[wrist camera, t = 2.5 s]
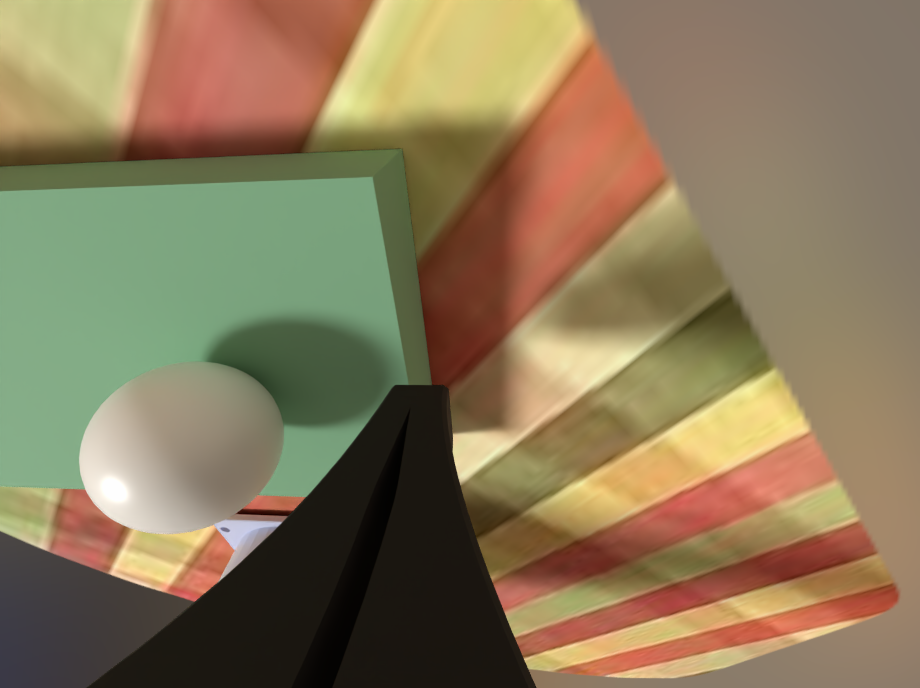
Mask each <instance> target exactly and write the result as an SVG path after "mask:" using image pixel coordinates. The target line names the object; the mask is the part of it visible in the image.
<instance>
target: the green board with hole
mask: <svg viewBox="0 0 920 688" xmlns="http://www.w3.org/2000/svg"><path fill="white" fill-rule="evenodd" d="M193 361H198V362H213V363H219V364H223V365H227V366H230V367H233V368H236V369H238V370H240V371H243V372H245V373H246V374H248V375H250V376H251V377H253V378H254V379H256V380H257V381H258V382H259V383H260V384H262V385H263V386H264V387H265V388H266V389H267V391H268V392H269V393H270V394H271V396H272V397H273V399H274V400H275V402H276V404H277V406H278V408H279V410H280V413H281V417H282V421H283V426H284V443H283V449H282V453H281V457H280V461H279V463H278V465H277V468H276V470H275V472H274V474H273V476H272V477H271V479H270V480H269V482H268V484H267V485H266V486H265V487H264V488H263V490H262V491H261V492H260V493H259V494H258V495H266V496H295V497H307V496H308V495H309V493H310V492H311V491H312V490H313V489H314V488H315V487H316V486H317V484H318V483H319V482H320V481H321V480H322V479H323V477H324V476H325V475H326V474H327V473H328V472H329V470H330V469H331V468H332V467H333V466H334V465H335V463H336V462H337V461H338V460H339V459H340V457H341V456H342V455H343V454H344V452H345V451H346V450H347V449H348V447H349V446H350V445H351V443H352V442H353V441H354V440H355V438H356V437H357V436H358V434H359V433H360V432H361V431H362V429H363V428H364V427H365V425H366V424H367V422H368V421H369V420H370V418H371V417H372V416H373V414H374V413H375V411H376V410H377V409H378V407H379V406H380V404H381V403H382V401H383V400H384V398H385V397H386V395H387V394H388V392H389V391H390V390H391V388H392V387H393V386H394V385H432V381H431V373H430V366H429V358H428V350H427V342H426V334H425V326H424V318H423V310H422V302H421V294H420V286H419V278H418V270H417V262H416V254H415V247H414V239H413V231H412V223H411V215H410V207H409V199H408V191H407V183H406V175H405V167H404V159H403V151H402V149H384V150H362V151H339V152H317V153H294V154H272V155H249V156H227V157H204V158H182V159H159V160H137V161H114V162H91V163H69V164H46V165H24V166H1V167H0V486H5V487H34V488H63V489H85V487H84V484H83V481H82V478H81V475H80V465H79V455H80V447H81V443H82V439H83V436H84V433H85V430H86V428H87V426H88V424H89V422H90V420H91V419H92V417H93V415H94V414H95V413H96V411H97V410H98V408H99V407H100V406H101V404H102V403H103V402H104V401H105V400H106V399H107V398H108V397H109V396H110V395H111V394H113V393H114V392H115V391H116V390H117V389H119V388H120V387H121V386H123V385H124V384H125V383H127V382H129V381H130V380H132V379H134V378H136V377H137V376H139V375H141V374H143V373H145V372H148V371H150V370H153V369H156V368H159V367H162V366H166V365H170V364H175V363H181V362H193Z"/></svg>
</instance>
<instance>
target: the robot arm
mask: <svg viewBox="0 0 920 688" xmlns="http://www.w3.org/2000/svg"><path fill="white" fill-rule="evenodd" d="M452 450H453V433H452V422H451V411H450V400H449V389H448V388H447V387H445V386H444V385H394V386H393V387H392V388H391V390H390V391H389V392H388V394H387V395H386V397H385V398H384V400H383V401H382V403H381V404H380V406H379V407H378V409H377V410H376V411H375V413H374V414H373V416H372V417H371V418H370V420H369V421H368V422H367V424H366V425H365V427H364V428H363V429H362V431H361V432H360V433H359V434H358V436H357V437H356V438H355V440H354V441H353V442H352V443H351V445H350V446H349V447H348V449H347V450H346V451H345V452H344V454H343V455H342V456H341V457H340V459H339V460H338V461H337V462H336V463H335V465H334V466H333V467H332V468H331V469H330V470H329V472H328V473H327V474H326V475H325V476H324V477H323V479H322V480H321V481H320V482H319V483H318V484H317V486H316V487H315V488H314V489H313V490H312V491H311V492H310V493H309V495H308V496H307V497H306V498H305V499H304V500H303V501H302V502H301V503H300V504H299V505H298V506H297V507H296V508H295V510H294V511H293V512H292V513H291V514H290V515H289V516H273V515H247V514H234V515H232V516H230V517H229V518H227V519H225V520H223V521H221V522H219V523H216V524H214V526H215V527H216V528H217V529H218V531H219V532H220V533H221V534H222V535H223V537H224V538H225V539H226V540H227V542H228V543H229V544H230V545H231V546H232V548H233V549H234V550H235V551H234V553H233V555H232V557H231V559H230V561H229V563H228V564H227V566H226V568H225V570H224V572H223V574H222V576H221V578H220V580H219V581H218V583H217V584H215V585H214V586H213V587H212V588H211V589H209V590H208V591H207V592H206V593H205V594H203V595H202V596H201V597H200V598H199V599H198V600H196V601H195V602H194V603H193V604H192V605H191V606H189V607H188V608H187V609H186V610H184V611H183V612H182V613H181V614H180V615H179V616H177V618H175V619H174V620H173V621H171V622H170V623H169V624H168V625H167V626H165V627H164V628H163V629H162V630H161V631H159V632H158V633H157V634H156V635H154V636H153V637H152V638H151V639H149V640H148V641H147V642H145V643H144V644H143V645H142V646H140V647H139V648H138V649H137V650H135V651H134V652H132V653H131V654H130V655H129V656H127V657H126V658H125V659H123V660H122V661H121V662H119V663H118V664H117V665H116V666H114V667H113V668H111V669H110V670H109V671H108V672H107V673H105V674H104V675H102V676H101V677H100V678H99V679H97V680H96V681H95V682H93V683H92V684H91V685H89V686H88V687H87V688H536V686H535V683H534V681H533V679H532V677H531V674H530V672H529V670H528V668H527V665H526V663H525V661H524V658H523V656H522V654H521V651H520V649H519V647H518V644H517V642H516V640H515V637H514V635H513V633H512V630H511V628H510V626H509V623H508V621H507V618H506V615H505V613H504V610H503V608H502V605H501V603H500V600H499V598H498V595H497V593H496V590H495V588H494V585H493V583H492V580H491V578H490V575H489V573H488V570H487V567H486V564H485V562H484V559H483V556H482V553H481V550H480V547H479V545H478V542H477V539H476V536H475V533H474V530H473V527H472V524H471V521H470V517H469V514H468V511H467V508H466V504H465V501H464V497H463V494H462V490H461V486H460V483H459V479H458V475H457V471H456V466H455V462H454V457H453V452H452Z"/></svg>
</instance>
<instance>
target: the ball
mask: <svg viewBox="0 0 920 688" xmlns="http://www.w3.org/2000/svg"><path fill="white" fill-rule="evenodd" d="M283 443H284V426H283V421H282V417H281V413H280V410H279V408H278V406H277V404H276V402H275V400H274V399H273V397H272V396H271V394H270V393H269V392H268V391H267V389H266V388H265V387H264V386H263V385H262V384H260V383H259V382H258V381H257V380H256V379H254V378H253V377H251V376H250V375H248V374H246V373H245V372H243V371H240V370H238V369H236V368H233V367H230V366H227V365H223V364H219V363H213V362H198V361H193V362H181V363H175V364H170V365H166V366H162V367H159V368H156V369H153V370H150V371H148V372H145V373H143V374H141V375H139V376H137V377H136V378H134V379H132V380H130V381H129V382H127V383H125V384H124V385H123V386H121V387H120V388H119V389H117V390H116V391H115V392H114V393H113V394H111V395H110V396H109V397H108V398H107V399H106V400H105V401H104V402H103V403H102V404H101V406H100V407H99V408H98V410H97V411H96V413H95V414H94V415H93V417H92V419H91V420H90V422H89V424H88V426H87V428H86V430H85V433H84V436H83V439H82V443H81V447H80V455H79V465H80V475H81V478H82V481H83V484H84V487H85V489H86V491H87V493H88V495H89V496H90V498H91V500H92V501H93V502H94V504H95V505H96V506H97V507H98V508H99V509H100V510H101V511H102V512H103V513H104V514H106V515H107V516H108V517H109V518H111V519H113V520H114V521H116V522H118V523H120V524H122V525H124V526H127V527H129V528H132V529H135V530H138V531H142V532H147V533H155V534H178V533H185V532H191V531H195V530H199V529H203V528H206V527H209V526H212V525H214V524H216V523H219V522H221V521H223V520H225V519H227V518H229V517H230V516H232V515H234V514H236V513H237V512H238V511H240V510H241V509H242V508H244V507H245V506H246V505H248V504H249V503H250V502H251V501H252V500H253V499H254V498H255V497H257V495H258V494H259V493H260V492H261V491H262V490H263V488H264V487H265V486H266V485H267V484H268V482H269V480H270V479H271V477H272V476H273V474H274V472H275V470H276V468H277V465H278V463H279V461H280V457H281V453H282V449H283Z"/></svg>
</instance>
